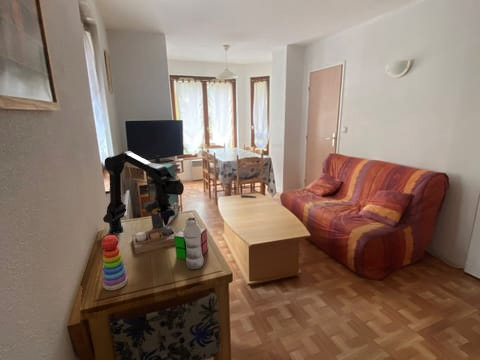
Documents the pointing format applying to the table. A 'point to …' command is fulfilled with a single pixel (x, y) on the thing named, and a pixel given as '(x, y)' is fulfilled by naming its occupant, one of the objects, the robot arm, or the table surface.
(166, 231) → the charcoal button
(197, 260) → the plastic bottle
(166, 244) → the panel
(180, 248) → the puzzle cube
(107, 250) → the stacking toy
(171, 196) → the cake mix box
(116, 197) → the robot arm
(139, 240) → the cream button
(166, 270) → the table surface
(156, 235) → the terracotta button
